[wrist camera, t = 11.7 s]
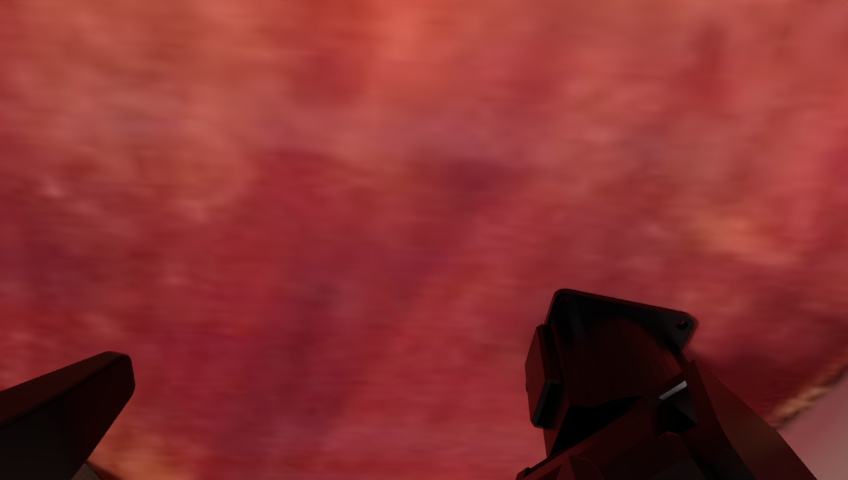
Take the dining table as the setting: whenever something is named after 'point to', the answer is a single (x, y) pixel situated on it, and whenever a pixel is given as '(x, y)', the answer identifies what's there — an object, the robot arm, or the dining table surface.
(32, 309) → the dining table surface
